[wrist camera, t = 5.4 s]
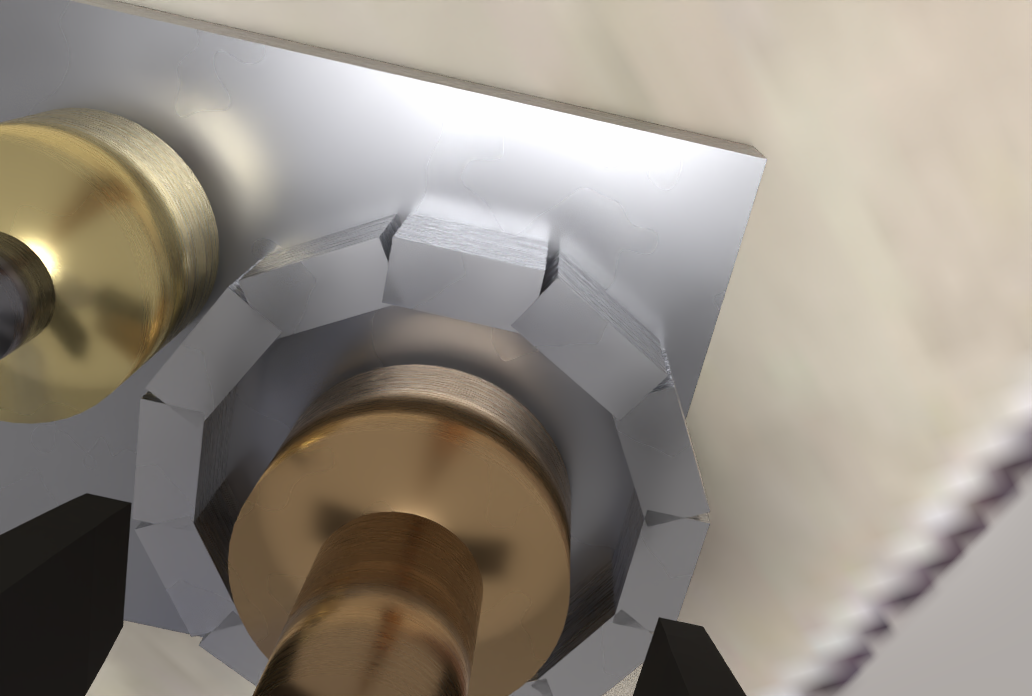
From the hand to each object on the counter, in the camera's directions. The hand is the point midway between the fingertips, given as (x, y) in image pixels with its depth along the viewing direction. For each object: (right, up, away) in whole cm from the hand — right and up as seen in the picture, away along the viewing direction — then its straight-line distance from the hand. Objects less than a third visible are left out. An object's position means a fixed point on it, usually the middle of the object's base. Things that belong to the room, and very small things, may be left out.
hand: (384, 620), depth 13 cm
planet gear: (0, +1, +4) cm, 4 cm away
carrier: (-2, +3, +4) cm, 6 cm away
